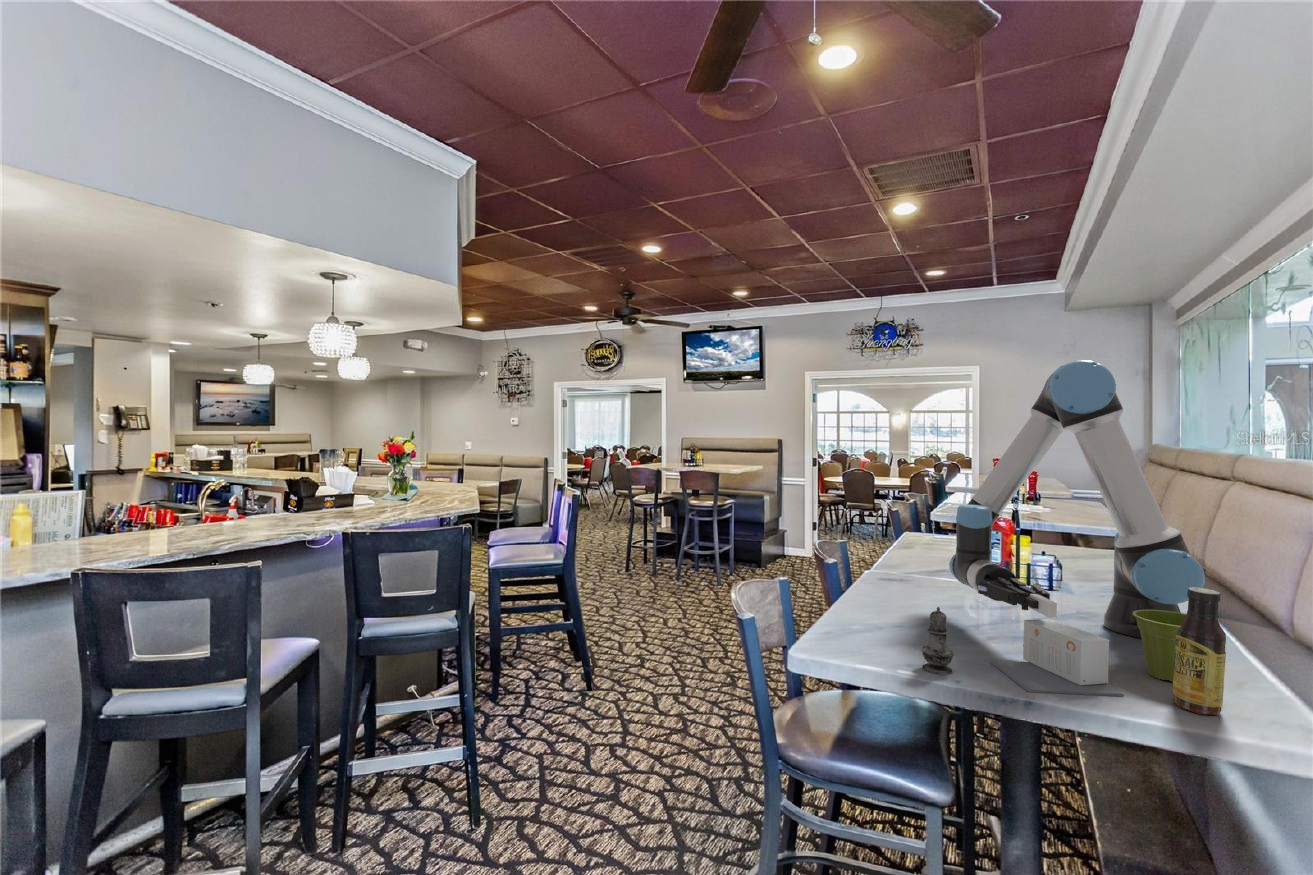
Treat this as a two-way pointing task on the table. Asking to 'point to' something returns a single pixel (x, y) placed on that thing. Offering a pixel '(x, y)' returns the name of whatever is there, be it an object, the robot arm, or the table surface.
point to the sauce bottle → (1200, 655)
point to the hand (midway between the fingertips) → (1052, 610)
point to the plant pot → (1159, 640)
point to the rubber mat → (1048, 680)
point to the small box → (1066, 651)
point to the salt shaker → (937, 646)
